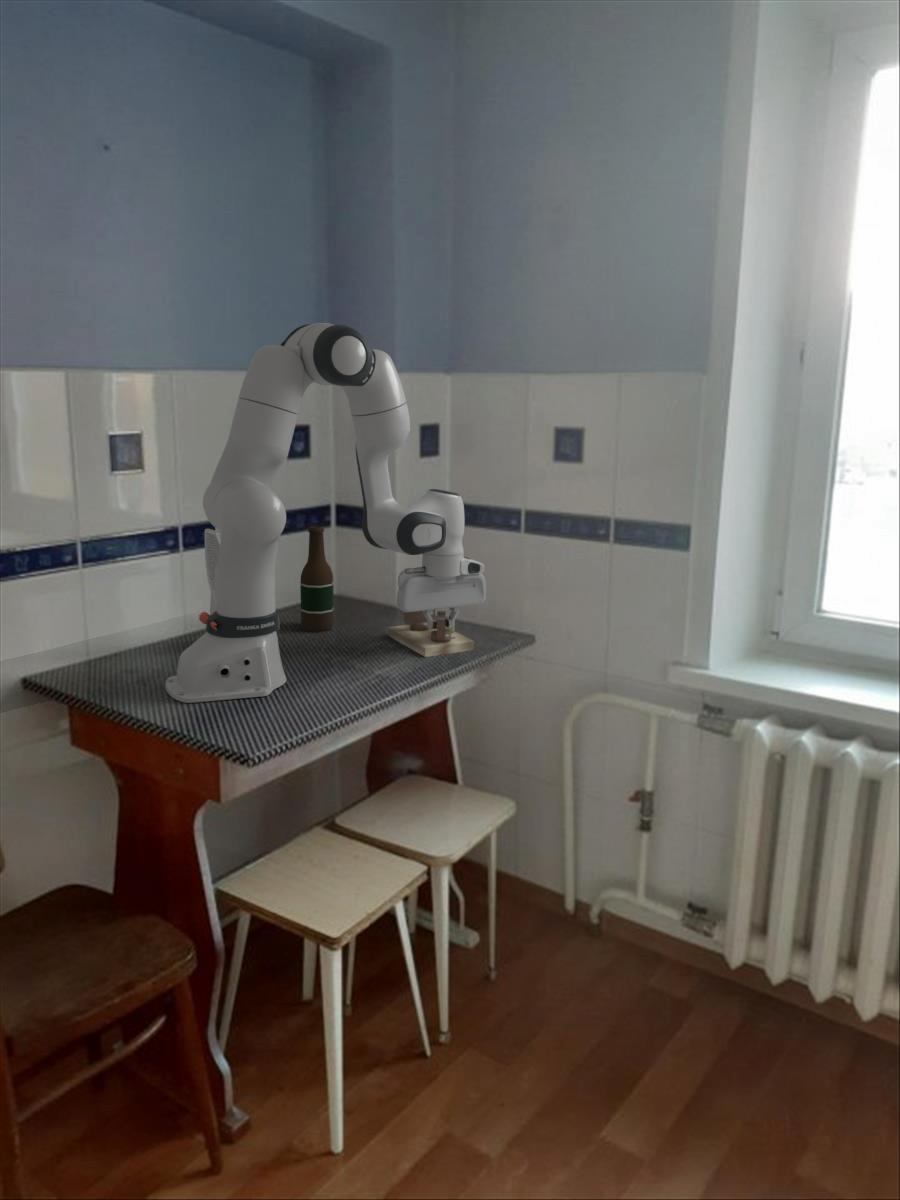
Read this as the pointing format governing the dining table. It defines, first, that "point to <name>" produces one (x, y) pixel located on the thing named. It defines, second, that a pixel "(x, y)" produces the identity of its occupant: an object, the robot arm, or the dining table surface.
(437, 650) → the control panel
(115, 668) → the dining table surface
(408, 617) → the knob far
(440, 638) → the knob near
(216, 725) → the dining table surface
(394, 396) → the robot arm
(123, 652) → the dining table surface
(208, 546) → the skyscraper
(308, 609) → the beer bottle
